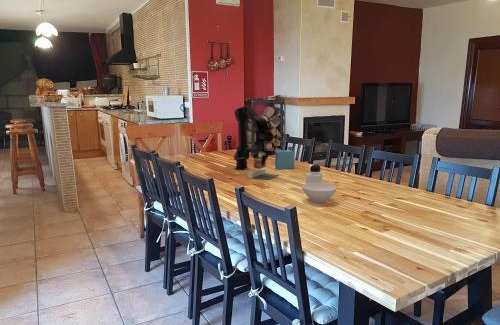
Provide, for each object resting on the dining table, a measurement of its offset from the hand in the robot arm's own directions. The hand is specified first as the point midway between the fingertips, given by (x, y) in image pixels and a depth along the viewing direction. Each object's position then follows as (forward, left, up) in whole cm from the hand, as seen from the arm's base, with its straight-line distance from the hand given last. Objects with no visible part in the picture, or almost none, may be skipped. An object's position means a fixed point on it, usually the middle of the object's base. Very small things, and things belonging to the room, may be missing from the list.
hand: (259, 165), depth 232 cm
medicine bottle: (+38, -6, -7) cm, 39 cm away
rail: (-2, 0, -7) cm, 7 cm away
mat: (+4, 0, -6) cm, 8 cm away
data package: (+2, +28, -7) cm, 29 cm away
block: (0, 0, -1) cm, 1 cm away
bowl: (+51, -30, -7) cm, 60 cm away
